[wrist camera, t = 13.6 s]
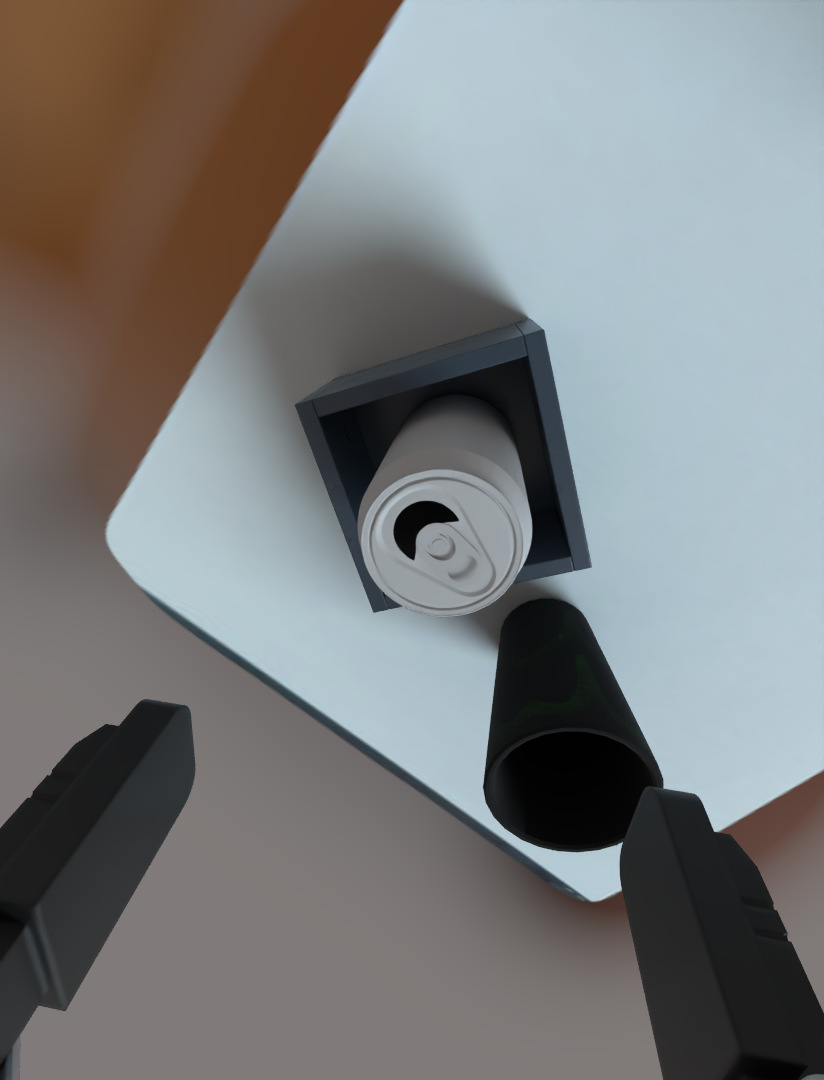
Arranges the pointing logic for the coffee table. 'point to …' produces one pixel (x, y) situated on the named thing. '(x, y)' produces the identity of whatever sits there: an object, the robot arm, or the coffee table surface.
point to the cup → (562, 735)
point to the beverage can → (447, 510)
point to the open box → (455, 368)
